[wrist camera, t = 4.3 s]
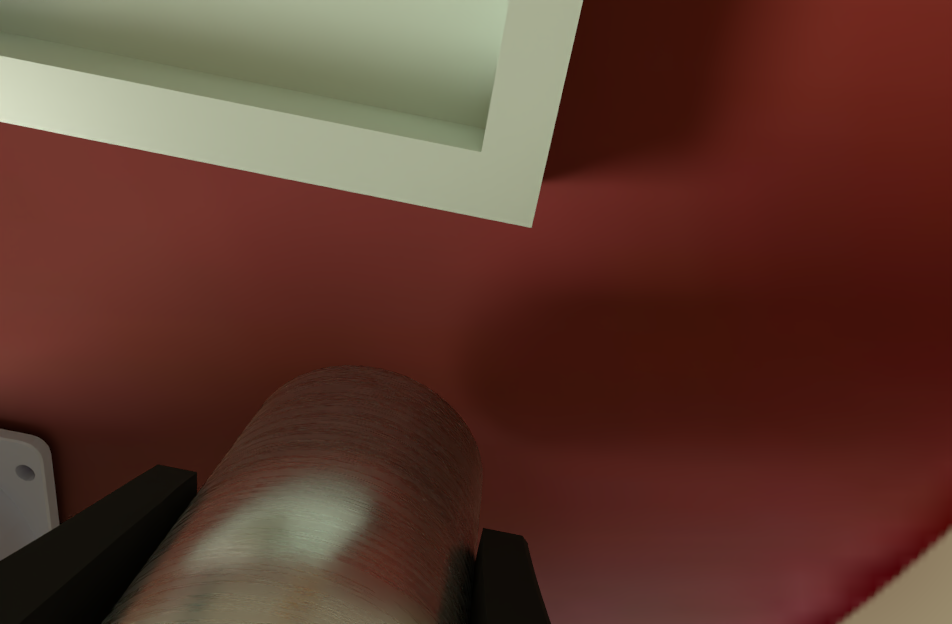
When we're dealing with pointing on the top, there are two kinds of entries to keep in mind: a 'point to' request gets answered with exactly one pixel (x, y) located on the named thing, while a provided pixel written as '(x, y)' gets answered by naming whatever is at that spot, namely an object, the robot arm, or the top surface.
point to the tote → (307, 89)
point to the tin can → (326, 514)
